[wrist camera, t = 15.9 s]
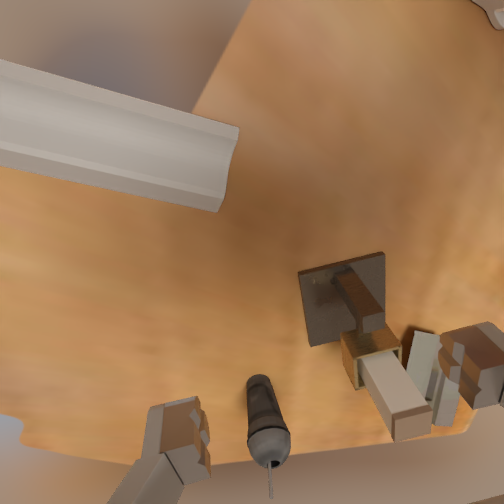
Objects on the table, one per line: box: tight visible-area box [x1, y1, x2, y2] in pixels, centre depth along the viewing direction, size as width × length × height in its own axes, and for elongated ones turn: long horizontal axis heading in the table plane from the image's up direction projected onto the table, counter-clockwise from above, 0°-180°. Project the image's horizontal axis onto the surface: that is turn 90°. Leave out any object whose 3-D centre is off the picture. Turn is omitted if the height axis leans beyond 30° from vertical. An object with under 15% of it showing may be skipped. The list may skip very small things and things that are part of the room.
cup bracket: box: [298, 251, 402, 391], centre depth 53 cm, size 14×16×13 cm
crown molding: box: [0, 59, 239, 213], centre depth 40 cm, size 31×12×4 cm, turn 73°
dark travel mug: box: [247, 374, 291, 499], centre depth 57 cm, size 7×7×20 cm
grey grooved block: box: [405, 330, 460, 427], centre depth 67 cm, size 19×10×17 cm
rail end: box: [357, 351, 433, 442], centre depth 46 cm, size 5×5×13 cm
